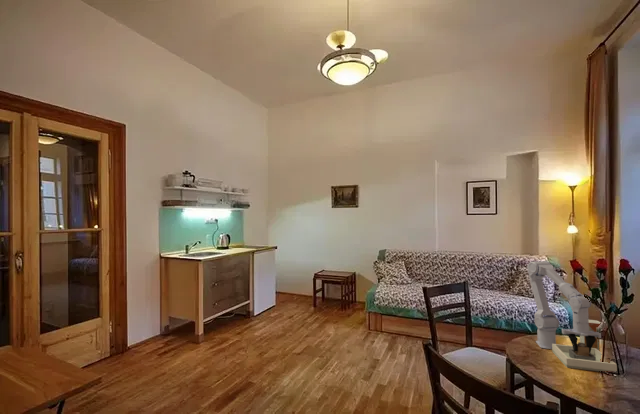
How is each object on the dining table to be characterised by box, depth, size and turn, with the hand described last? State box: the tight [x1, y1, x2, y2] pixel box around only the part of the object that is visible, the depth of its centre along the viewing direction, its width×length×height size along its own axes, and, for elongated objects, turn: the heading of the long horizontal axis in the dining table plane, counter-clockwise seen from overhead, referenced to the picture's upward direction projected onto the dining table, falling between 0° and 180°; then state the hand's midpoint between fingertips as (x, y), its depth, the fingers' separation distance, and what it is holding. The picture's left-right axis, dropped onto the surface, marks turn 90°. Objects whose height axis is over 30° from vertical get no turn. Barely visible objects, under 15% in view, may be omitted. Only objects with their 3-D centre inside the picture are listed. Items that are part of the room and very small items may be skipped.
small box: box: [579, 319, 602, 349], centre depth 166 cm, size 8×6×13 cm
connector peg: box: [575, 341, 589, 356], centre depth 147 cm, size 4×4×7 cm
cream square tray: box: [551, 343, 618, 373], centre depth 147 cm, size 18×18×4 cm
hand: (581, 351), depth 148 cm, fingers open, 4 cm apart
